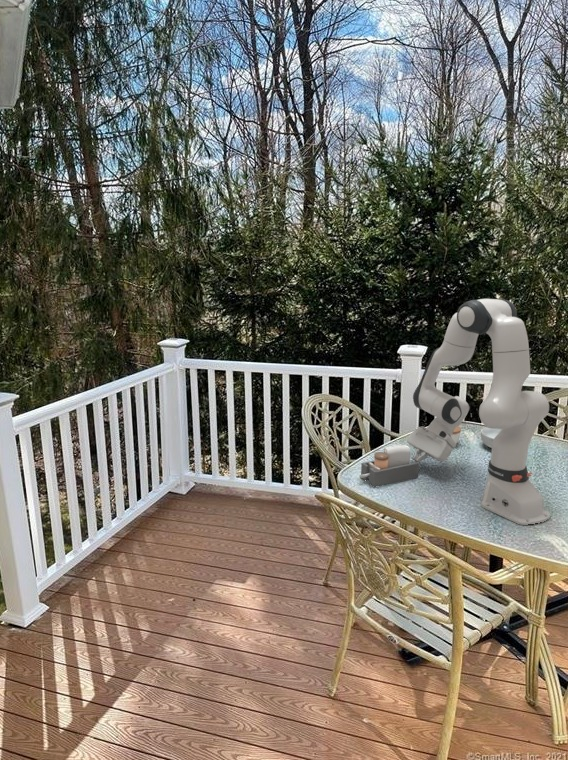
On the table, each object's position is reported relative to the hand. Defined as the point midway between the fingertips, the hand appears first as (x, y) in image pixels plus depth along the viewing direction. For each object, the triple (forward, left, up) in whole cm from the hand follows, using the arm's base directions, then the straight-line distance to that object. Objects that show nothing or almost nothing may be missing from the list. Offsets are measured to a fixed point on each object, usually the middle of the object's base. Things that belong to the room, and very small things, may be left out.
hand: (415, 461), depth 206 cm
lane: (0, +11, -5) cm, 12 cm away
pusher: (0, +21, -5) cm, 22 cm away
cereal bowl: (+5, -49, -5) cm, 50 cm away
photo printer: (+1, +8, -5) cm, 10 cm away
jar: (0, +16, -5) cm, 16 cm away
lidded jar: (+18, -31, -5) cm, 36 cm away
